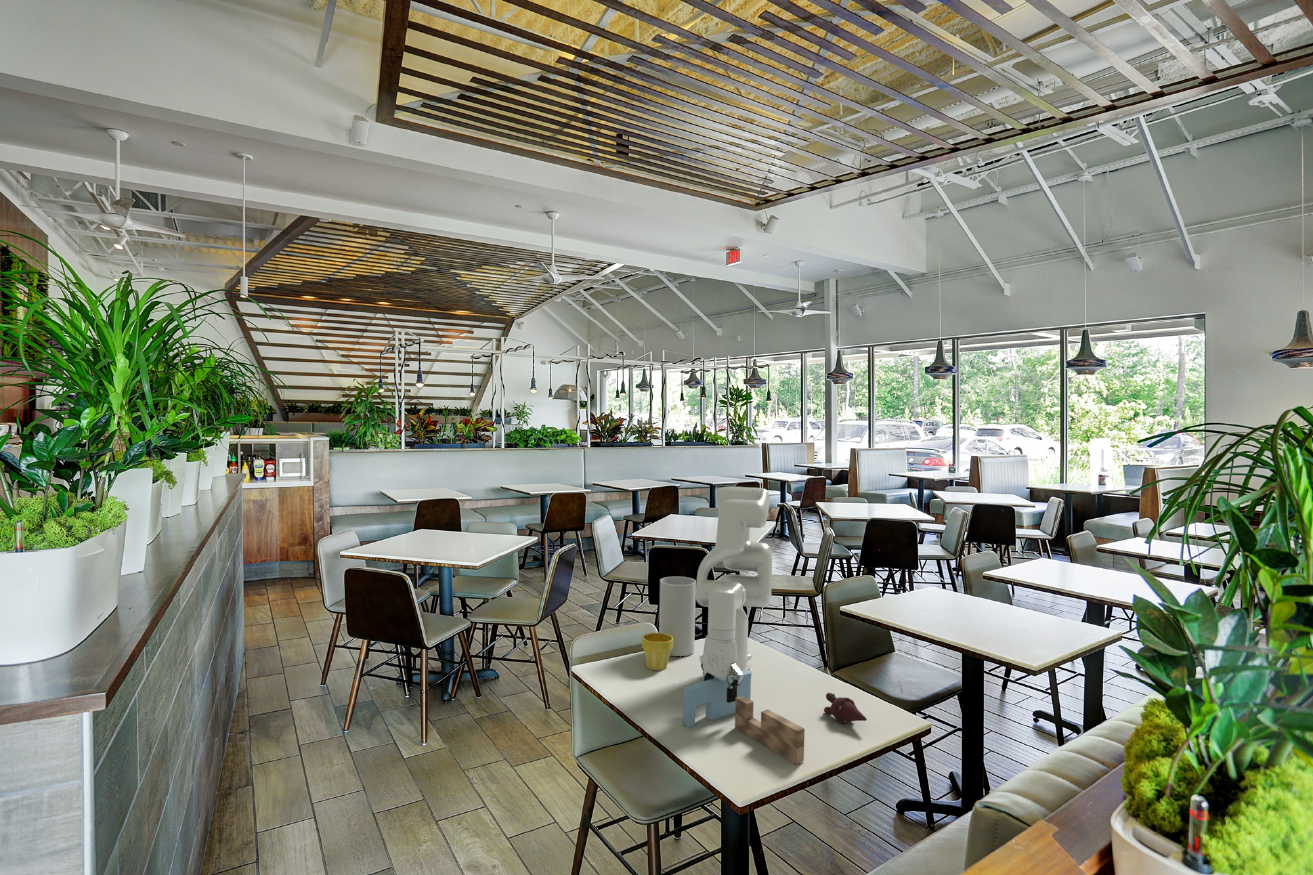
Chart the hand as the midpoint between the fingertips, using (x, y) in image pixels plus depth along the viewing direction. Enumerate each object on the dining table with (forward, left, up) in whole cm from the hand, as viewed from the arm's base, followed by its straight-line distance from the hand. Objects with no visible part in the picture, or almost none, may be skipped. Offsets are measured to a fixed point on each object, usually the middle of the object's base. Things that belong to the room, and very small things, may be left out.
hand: (719, 695), depth 179 cm
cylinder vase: (-35, -37, -6) cm, 51 cm away
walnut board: (+6, +17, -6) cm, 19 cm away
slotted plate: (0, 0, -6) cm, 6 cm away
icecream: (-18, +29, -6) cm, 34 cm away
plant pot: (-19, -34, -6) cm, 40 cm away
